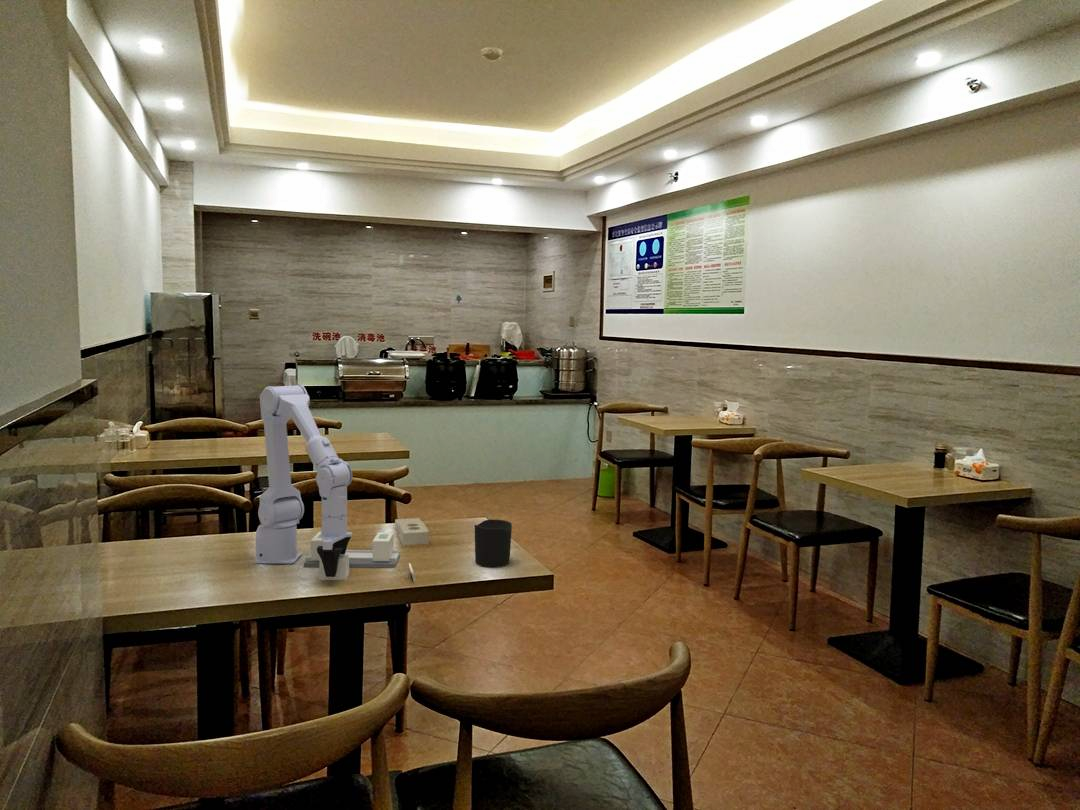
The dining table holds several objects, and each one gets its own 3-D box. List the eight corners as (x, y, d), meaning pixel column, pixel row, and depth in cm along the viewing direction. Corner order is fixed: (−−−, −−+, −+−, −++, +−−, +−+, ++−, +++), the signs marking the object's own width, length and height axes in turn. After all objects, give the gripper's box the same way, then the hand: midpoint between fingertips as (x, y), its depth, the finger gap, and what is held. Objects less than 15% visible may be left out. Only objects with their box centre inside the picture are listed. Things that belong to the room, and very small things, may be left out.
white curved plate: (399, 585, 172) (399, 572, 172) (396, 574, 180) (396, 562, 180) (415, 584, 173) (415, 571, 173) (411, 573, 181) (412, 561, 181)
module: (319, 580, 174) (319, 558, 173) (323, 574, 178) (323, 553, 177) (345, 580, 174) (345, 559, 174) (349, 574, 178) (349, 553, 178)
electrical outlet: (419, 514, 221) (429, 530, 204) (419, 528, 222) (429, 545, 205) (395, 516, 219) (402, 532, 202) (395, 529, 220) (402, 547, 203)
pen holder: (516, 566, 187) (517, 527, 186) (480, 570, 184) (481, 530, 183) (503, 555, 196) (504, 518, 195) (469, 559, 192) (469, 521, 191)
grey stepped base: (303, 567, 182) (303, 540, 182) (314, 554, 192) (313, 529, 192) (394, 567, 184) (394, 541, 183) (400, 555, 193) (400, 530, 193)
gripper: (345, 522, 167) (345, 581, 169) (357, 507, 182) (357, 561, 183) (313, 522, 167) (313, 581, 168) (328, 507, 181) (328, 561, 183)
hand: (334, 571), depth 176 cm, fingers open, 7 cm apart
